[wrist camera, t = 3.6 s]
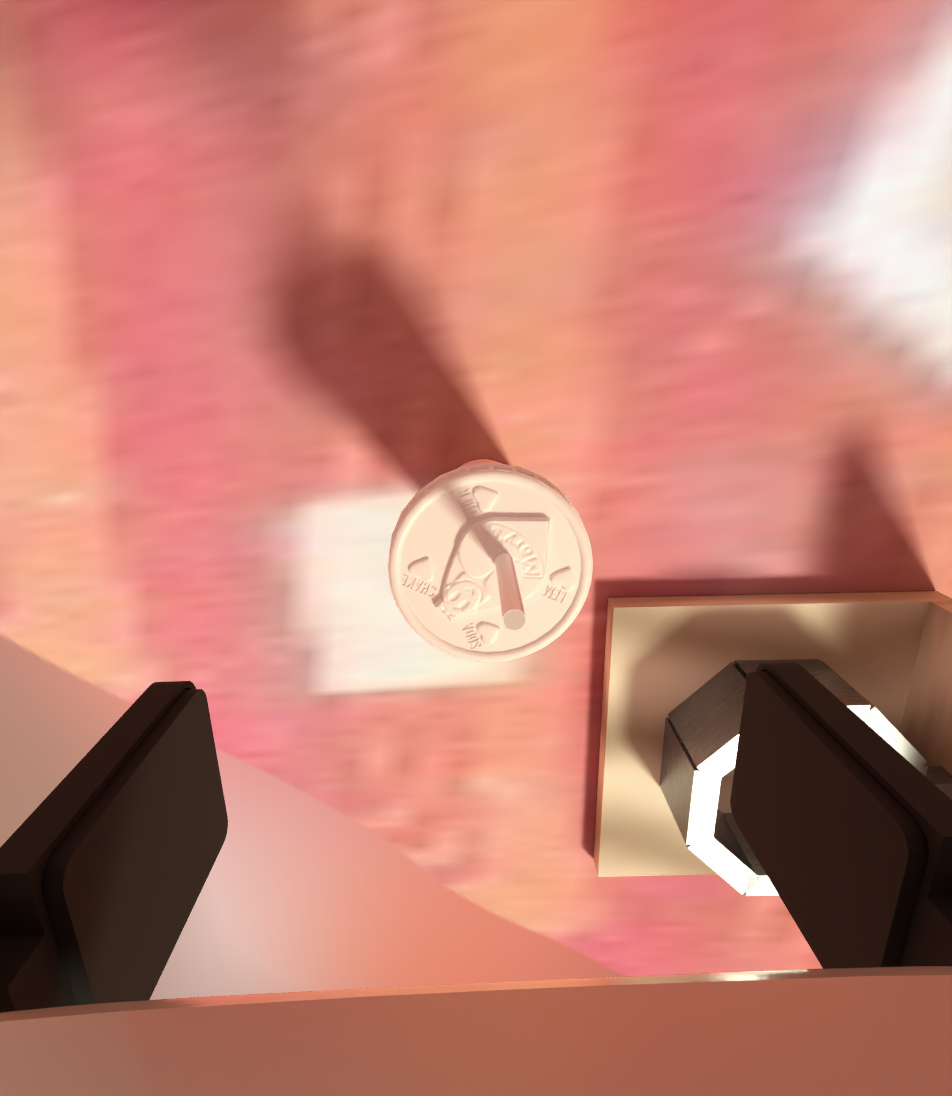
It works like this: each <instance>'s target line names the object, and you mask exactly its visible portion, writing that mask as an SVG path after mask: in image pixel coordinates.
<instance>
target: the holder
mask: <svg viewBox="0 0 952 1096" xmlns="http://www.w3.org/2000/svg"><path fill="white" fill-rule="evenodd" d="M780 662H796V663H798V664H800V665H801V666H802V667H803V668H804V669H806V670H807V671H808V672H809V673H810V674H811V675H812V676H813V677H814V678H816V679H817V680H818V681H819V682H820V683H821V684H822V685H823V686H825V687H826V688H827V689H828V690H829V691H830V692H831V693H832V694H834V695H835V696H836V697H837V698H838V699H839V700H840V701H841V702H842V703H844V704H845V705H846V706H847V707H848V708H849V709H850V710H851V711H853V712H854V713H855V714H856V715H857V716H858V717H859V718H860V719H862V720H863V721H864V722H865V723H866V724H867V725H868V726H869V727H870V728H872V729H873V730H874V731H875V732H876V733H877V734H878V735H879V736H881V737H882V738H883V739H884V740H885V741H886V742H887V743H888V744H890V745H891V746H892V747H893V748H894V749H895V750H896V751H897V752H898V753H900V754H901V755H902V756H903V757H904V758H905V759H906V760H907V761H909V762H910V763H911V764H912V765H913V766H914V767H915V768H916V769H918V770H919V771H920V772H921V773H922V774H923V775H924V776H925V777H926V778H928V779H929V780H930V781H931V782H932V783H933V784H934V785H935V786H937V787H938V788H939V789H940V790H941V791H942V792H943V793H944V794H946V795H947V796H948V797H949V798H950V799H951V800H952V599H951V598H949V597H947V596H945V595H943V594H941V593H939V592H937V591H914V592H864V593H815V594H766V595H717V596H667V597H618V598H608V609H607V627H606V645H605V663H604V681H603V699H602V717H601V735H600V753H599V771H598V789H597V807H596V826H595V844H594V863H595V867H596V871H597V875H598V877H614V876H656V875H698V874H718V875H719V876H721V877H722V878H723V879H724V880H725V881H726V882H728V883H729V884H730V885H731V886H732V887H734V888H735V889H736V890H737V891H738V892H739V893H741V894H744V893H745V895H746V896H766V895H779V894H778V892H777V891H776V889H775V887H774V886H773V884H772V882H771V881H770V879H769V878H768V876H767V874H766V873H765V871H764V869H763V868H762V866H761V864H760V863H759V861H758V859H757V858H756V856H755V854H754V853H753V851H752V849H751V848H750V846H749V844H748V843H747V841H746V839H745V838H744V836H743V834H742V833H741V831H740V829H739V828H738V826H737V824H736V822H735V820H734V818H733V815H732V811H731V805H730V797H731V790H732V783H733V775H734V768H735V761H736V753H737V746H738V738H739V731H740V724H741V716H742V709H743V702H744V694H745V687H746V680H747V676H748V675H749V673H750V672H756V669H757V667H758V666H759V665H760V664H761V663H780Z"/></svg>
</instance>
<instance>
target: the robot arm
mask: <svg viewBox="0 0 952 1096" xmlns="http://www.w3.org/2000/svg"><path fill="white" fill-rule="evenodd" d="M730 805H731V811H732V815H733V818H734V820H735V822H736V824H737V826H738V828H739V829H740V831H741V833H742V834H743V836H744V838H745V839H746V841H747V843H748V844H749V846H750V848H751V849H752V851H753V853H754V854H755V856H756V858H757V859H758V861H759V863H760V864H761V866H762V868H763V869H764V871H765V873H766V874H767V876H768V878H769V879H770V881H771V882H772V884H773V886H774V887H775V889H776V891H777V892H778V894H779V896H780V897H781V899H782V901H783V902H784V904H785V906H786V907H787V909H788V911H789V912H790V914H791V916H792V917H793V919H794V921H795V922H796V924H797V926H798V927H799V929H800V931H801V932H802V934H803V936H804V937H805V939H806V941H807V942H808V944H809V946H810V947H811V949H812V951H813V952H814V954H815V956H816V957H817V959H818V961H819V962H820V964H821V966H822V967H823V969H802V970H777V971H751V972H726V973H700V974H675V975H649V976H624V977H602V978H579V979H557V980H534V981H512V982H490V983H469V984H448V985H427V986H406V987H385V988H365V989H345V990H326V991H307V992H288V993H270V994H269V993H268V994H249V995H231V996H212V997H211V996H210V997H193V998H192V997H191V998H176V999H162V1000H149V999H150V997H151V995H152V993H153V991H154V988H155V986H156V985H157V982H158V980H159V978H160V976H161V974H162V971H163V970H164V968H165V966H166V963H167V961H168V959H169V957H170V955H171V953H172V951H173V949H174V946H175V944H176V942H177V940H178V938H179V936H180V934H181V932H182V930H183V928H184V925H185V923H186V921H187V919H188V917H189V915H190V913H191V911H192V908H193V906H194V904H195V902H196V900H197V898H198V896H199V894H200V892H201V890H202V887H203V885H204V883H205V881H206V879H207V877H208V875H209V873H210V871H211V869H212V867H213V864H214V862H215V860H216V858H217V856H218V854H219V852H220V850H221V847H222V845H223V843H224V841H225V838H226V834H227V827H228V819H227V812H226V806H225V800H224V796H223V790H222V784H221V777H220V772H219V766H218V760H217V755H216V749H215V743H214V737H213V732H212V726H211V720H210V714H209V709H208V703H207V698H206V694H205V692H204V691H203V690H202V689H196V687H195V686H194V684H193V683H192V682H190V681H177V682H155V683H153V684H152V685H150V686H149V687H148V688H147V690H146V691H145V692H144V693H143V694H142V695H141V696H140V697H139V698H138V699H137V700H136V701H135V703H134V704H133V705H132V706H131V707H130V708H129V709H128V710H127V711H126V712H125V713H124V714H123V716H122V717H121V718H120V719H119V720H118V721H117V722H116V723H115V724H114V725H113V726H112V728H110V730H109V731H108V732H107V733H106V734H105V735H104V736H103V737H102V738H101V739H100V740H99V742H98V743H97V744H96V745H95V746H94V747H93V748H92V749H91V750H90V751H89V752H88V753H87V754H86V756H85V757H84V758H83V759H82V760H81V761H80V762H79V763H78V764H77V765H76V766H75V767H74V769H73V770H72V771H71V772H70V773H69V774H68V775H67V776H66V777H65V778H64V779H63V780H62V781H61V783H60V784H59V785H58V786H57V787H56V788H55V789H54V790H53V791H52V792H51V793H50V795H49V796H48V797H47V798H46V799H45V800H44V801H43V802H42V803H41V804H40V805H39V806H38V808H37V809H36V810H35V811H34V812H33V813H32V814H31V815H30V816H29V817H28V818H27V819H26V820H25V822H24V823H23V824H22V825H21V826H20V827H19V828H18V829H17V830H16V831H15V832H14V833H13V834H12V836H11V837H10V838H9V839H8V840H7V841H6V842H5V843H4V844H3V845H2V846H1V848H0V1096H952V800H951V799H950V798H949V797H948V796H947V795H946V794H944V793H943V792H942V791H941V790H940V789H939V788H938V787H937V786H935V785H934V784H933V783H932V782H931V781H930V780H929V779H928V778H926V777H925V776H924V775H923V774H922V773H921V772H920V771H919V770H918V769H916V768H915V767H914V766H913V765H912V764H911V763H910V762H909V761H907V760H906V759H905V758H904V757H903V756H902V755H901V754H900V753H898V752H897V751H896V750H895V749H894V748H893V747H892V746H891V745H890V744H888V743H887V742H886V741H885V740H884V739H883V738H882V737H881V736H879V735H878V734H877V733H876V732H875V731H874V730H873V729H872V728H870V727H869V726H868V725H867V724H866V723H865V722H864V721H863V720H862V719H860V718H859V717H858V716H857V715H856V714H855V713H854V712H853V711H851V710H850V709H849V708H848V707H847V706H846V705H845V704H844V703H842V702H841V701H840V700H839V699H838V698H837V697H836V696H835V695H834V694H832V693H831V692H830V691H829V690H828V689H827V688H826V687H825V686H823V685H822V684H821V683H820V682H819V681H818V680H817V679H816V678H814V677H813V676H812V675H811V674H810V673H809V672H808V671H807V670H806V669H804V668H803V667H802V666H801V665H800V664H798V663H796V662H780V663H761V664H760V665H759V666H758V667H757V669H756V672H750V673H749V675H748V676H747V680H746V687H745V694H744V702H743V709H742V716H741V724H740V731H739V738H738V746H737V753H736V761H735V768H734V775H733V783H732V790H731V797H730Z"/></svg>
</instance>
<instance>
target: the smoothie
mask: <svg viewBox="0 0 952 1096" xmlns="http://www.w3.org/2000/svg"><path fill="white" fill-rule="evenodd" d="M592 567H593V561H592V551H591V545H590V542H589V538H588V535H587V532H586V530H585V527H584V525H583V523H582V520H581V517H580V515H579V514H578V512H577V511H576V509H575V508H574V506H573V505H572V504H571V502H570V501H569V499H568V498H567V496H566V495H565V494H564V493H563V492H562V491H560V490H559V489H558V488H557V487H555V486H554V485H553V484H552V483H551V482H549V481H548V480H547V479H546V478H544V477H542V476H540V475H537V474H535V473H533V472H531V471H528V470H526V469H524V468H522V467H519V466H512V465H506V464H502V463H500V462H497V461H494V460H489V459H477V460H472V461H469V462H467V463H465V464H463V465H461V466H460V467H458V468H457V469H455V470H452V471H450V472H447V473H445V474H442V475H440V476H438V477H437V478H436V479H434V480H433V481H431V482H430V483H429V484H427V485H426V486H425V487H423V488H422V489H421V490H419V491H418V492H417V493H416V495H415V496H414V497H413V498H412V500H411V501H410V502H409V503H408V505H407V506H406V507H405V508H404V510H403V511H402V512H401V515H400V517H399V520H398V522H397V524H396V527H395V529H394V532H393V534H392V539H391V547H390V552H389V559H388V573H389V582H390V587H391V591H392V594H393V597H394V600H395V602H396V605H397V607H398V609H399V611H400V613H401V614H402V616H403V617H404V619H405V620H406V622H407V623H408V624H409V625H410V627H411V628H412V629H413V630H414V631H415V632H416V633H417V634H418V635H419V636H420V637H421V638H423V639H424V640H425V641H426V642H428V643H429V644H431V645H432V646H434V647H435V648H437V649H439V650H441V651H443V652H445V653H447V654H450V655H452V656H455V657H458V658H462V659H466V660H471V661H478V662H500V661H508V660H512V659H517V658H520V657H524V656H526V655H529V654H531V653H534V652H536V651H538V650H540V649H542V648H543V647H545V646H547V645H548V644H550V643H551V642H553V641H554V640H555V639H556V638H558V637H559V636H560V635H561V634H562V633H563V632H564V631H565V630H566V629H567V628H568V627H569V626H570V625H571V624H572V622H573V621H574V619H575V618H576V617H577V615H578V614H579V612H580V610H581V609H582V606H583V604H584V602H585V600H586V597H587V595H588V592H589V588H590V584H591V578H592Z"/></svg>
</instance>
